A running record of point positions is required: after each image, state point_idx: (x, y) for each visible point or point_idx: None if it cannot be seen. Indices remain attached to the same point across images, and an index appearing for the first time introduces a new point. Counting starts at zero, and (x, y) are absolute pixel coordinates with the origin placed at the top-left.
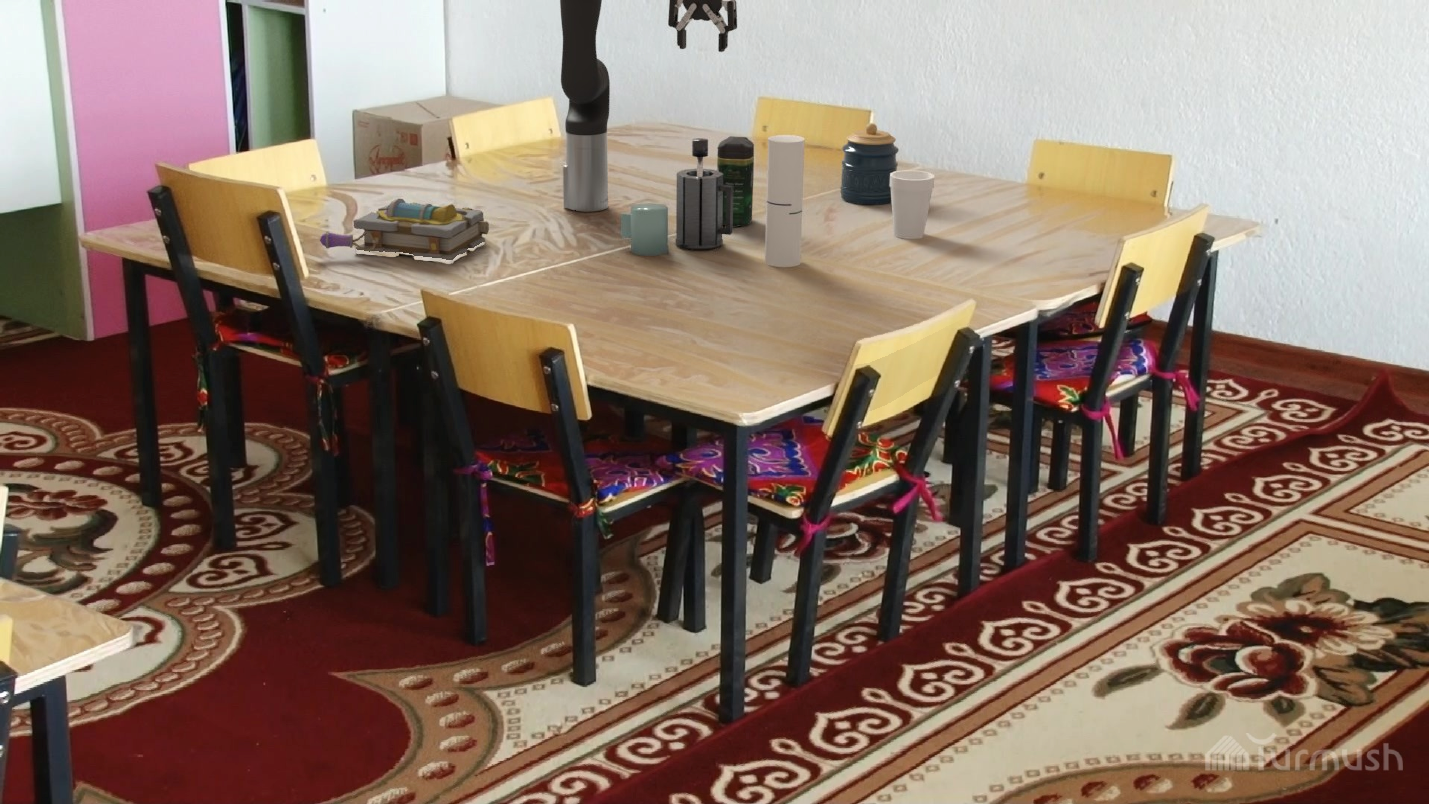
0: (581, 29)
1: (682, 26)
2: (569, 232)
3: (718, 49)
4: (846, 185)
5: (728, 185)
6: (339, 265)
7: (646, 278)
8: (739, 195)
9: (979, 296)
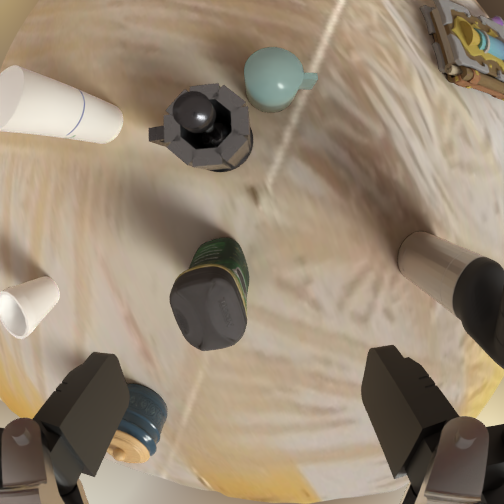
0: None
1: (442, 456)
2: (395, 135)
3: (106, 355)
4: (147, 400)
5: (156, 136)
6: (474, 7)
7: (224, 4)
8: (199, 256)
9: None
